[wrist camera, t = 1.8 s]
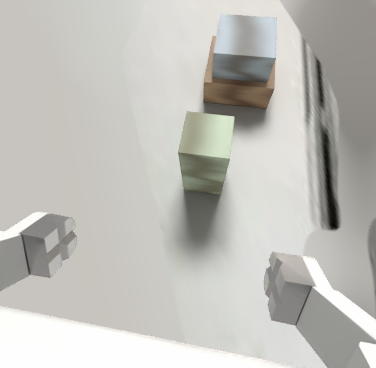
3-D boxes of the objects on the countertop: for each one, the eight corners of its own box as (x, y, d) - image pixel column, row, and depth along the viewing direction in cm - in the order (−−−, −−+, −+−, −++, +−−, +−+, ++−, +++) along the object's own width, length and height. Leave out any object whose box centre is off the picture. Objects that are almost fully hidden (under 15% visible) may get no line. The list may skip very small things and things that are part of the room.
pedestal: (268, 62, 40) (284, 13, 33) (266, 108, 36) (283, 64, 29) (211, 58, 41) (214, 9, 34) (203, 101, 37) (204, 57, 30)
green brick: (224, 162, 33) (234, 116, 24) (220, 194, 31) (229, 158, 22) (189, 157, 34) (186, 111, 24) (183, 189, 32) (178, 152, 22)
